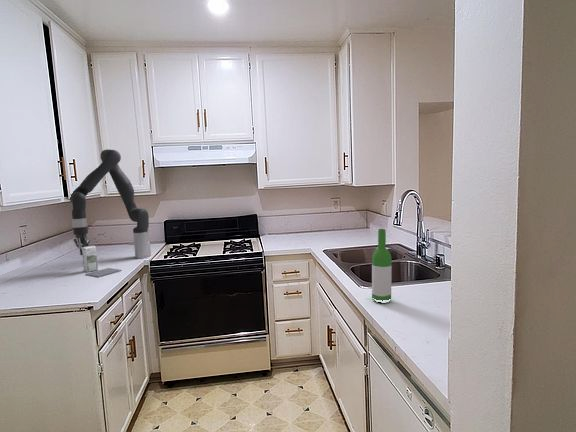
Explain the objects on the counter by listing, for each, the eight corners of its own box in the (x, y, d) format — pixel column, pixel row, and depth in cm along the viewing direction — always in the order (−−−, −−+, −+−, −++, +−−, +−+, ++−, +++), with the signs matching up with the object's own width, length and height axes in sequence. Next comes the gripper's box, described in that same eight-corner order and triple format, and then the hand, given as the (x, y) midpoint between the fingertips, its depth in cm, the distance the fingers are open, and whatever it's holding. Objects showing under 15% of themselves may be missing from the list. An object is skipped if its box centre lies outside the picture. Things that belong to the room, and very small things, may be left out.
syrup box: (94, 268, 208) (91, 245, 206) (98, 270, 204) (96, 246, 202) (83, 271, 203) (81, 246, 202) (87, 272, 200) (85, 248, 198)
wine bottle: (395, 302, 141) (396, 229, 137) (379, 305, 138) (379, 231, 135) (383, 296, 148) (384, 227, 144) (368, 299, 145) (368, 228, 142)
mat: (108, 268, 207) (108, 267, 207) (121, 270, 201) (121, 269, 201) (85, 274, 195) (85, 273, 195) (98, 277, 189) (98, 276, 189)
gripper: (93, 225, 204) (95, 254, 206) (79, 224, 210) (82, 252, 212) (80, 227, 197) (83, 257, 199) (67, 226, 204) (70, 255, 206)
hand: (82, 254), depth 206 cm, fingers closed
